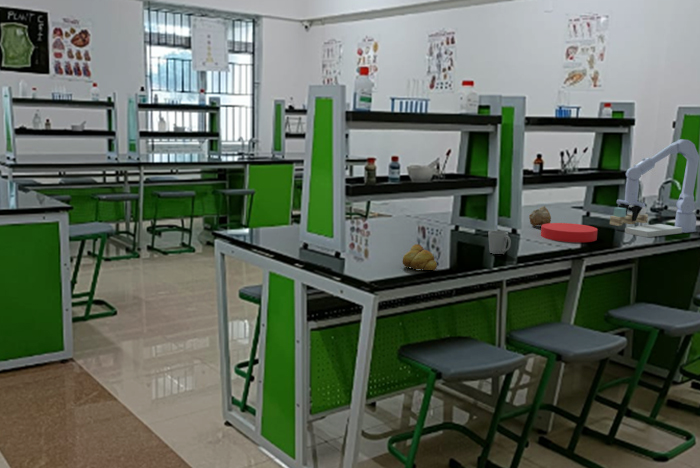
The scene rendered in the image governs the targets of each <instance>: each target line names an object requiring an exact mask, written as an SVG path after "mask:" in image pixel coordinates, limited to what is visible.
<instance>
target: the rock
mask: <svg viewBox="0 0 700 468" xmlns="http://www.w3.org/2000/svg"><path fill="white" fill-rule="evenodd" d="M528 217H529V223H530V225H532V226H533V227H538V226H542V225H543V224H548V223H552V221H551V220H552V216H551V214H550V212H549V209H547V207H546V206H541V207H540V208H539V209H534V210H533V211H532V212H531V213H530V214H529V216H528Z"/></svg>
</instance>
